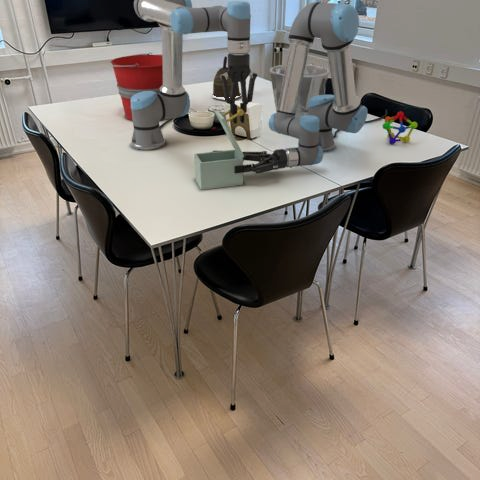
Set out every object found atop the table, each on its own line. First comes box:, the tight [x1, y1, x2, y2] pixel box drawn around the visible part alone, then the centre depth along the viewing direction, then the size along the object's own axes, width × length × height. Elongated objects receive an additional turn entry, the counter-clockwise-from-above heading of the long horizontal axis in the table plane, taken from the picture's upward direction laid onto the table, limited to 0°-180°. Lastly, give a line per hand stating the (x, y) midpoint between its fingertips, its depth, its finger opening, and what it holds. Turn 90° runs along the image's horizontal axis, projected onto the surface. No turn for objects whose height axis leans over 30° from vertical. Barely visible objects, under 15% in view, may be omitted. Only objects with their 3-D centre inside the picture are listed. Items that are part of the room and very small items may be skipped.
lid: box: [214, 104, 245, 158], centre depth 163 cm, size 17×10×8 cm
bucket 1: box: [107, 51, 163, 122], centre depth 239 cm, size 35×35×30 cm
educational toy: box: [382, 110, 418, 145], centre depth 207 cm, size 16×13×15 cm
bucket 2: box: [269, 64, 330, 119], centre depth 226 cm, size 30×30×28 cm
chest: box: [193, 149, 244, 191], centre depth 169 cm, size 16×10×11 cm, turn 107°
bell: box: [212, 56, 242, 97], centre depth 278 cm, size 19×26×20 cm
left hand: (238, 122), depth 162 cm, fingers closed on lid, 2 cm apart
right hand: (230, 164), depth 170 cm, fingers closed on chest, 10 cm apart
